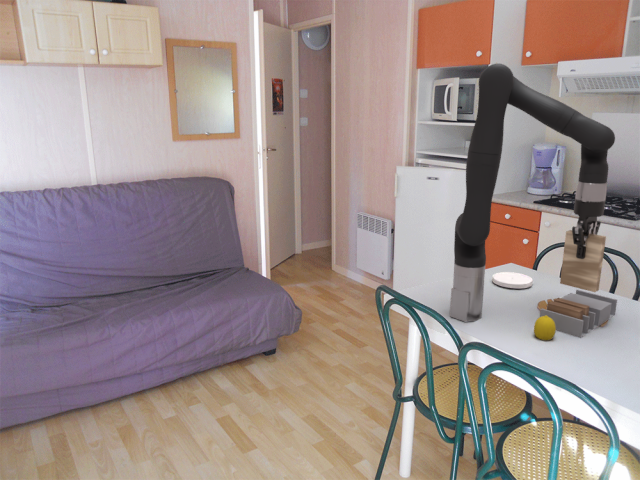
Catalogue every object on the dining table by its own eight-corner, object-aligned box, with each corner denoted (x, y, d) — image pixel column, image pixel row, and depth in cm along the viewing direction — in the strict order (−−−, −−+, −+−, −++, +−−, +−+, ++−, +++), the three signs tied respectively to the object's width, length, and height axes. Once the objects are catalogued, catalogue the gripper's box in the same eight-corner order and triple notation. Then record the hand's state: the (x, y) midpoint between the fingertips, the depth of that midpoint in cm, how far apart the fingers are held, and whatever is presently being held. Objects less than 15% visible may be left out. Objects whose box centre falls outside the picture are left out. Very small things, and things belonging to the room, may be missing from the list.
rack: (580, 342, 143) (582, 321, 141) (538, 329, 152) (540, 308, 150) (614, 319, 158) (617, 299, 156) (574, 308, 167) (577, 289, 165)
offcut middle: (582, 331, 147) (585, 308, 145) (551, 321, 153) (554, 299, 152) (586, 328, 148) (589, 306, 147) (555, 319, 155) (558, 297, 153)
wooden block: (594, 292, 146) (602, 237, 142) (559, 283, 153) (566, 231, 149) (598, 290, 148) (606, 236, 144) (563, 281, 155) (570, 230, 151)
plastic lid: (485, 279, 196) (485, 273, 195) (518, 277, 198) (519, 271, 198) (504, 292, 183) (504, 285, 182) (540, 289, 185) (540, 282, 184)
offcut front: (576, 335, 144) (579, 311, 143) (545, 325, 151) (547, 303, 149) (580, 332, 146) (583, 309, 144) (549, 322, 153) (551, 300, 151)
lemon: (536, 336, 148) (538, 310, 146) (556, 341, 144) (559, 314, 142) (529, 342, 143) (532, 316, 141) (550, 348, 140) (553, 321, 138)
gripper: (587, 193, 151) (580, 250, 155) (565, 199, 142) (558, 259, 147) (614, 196, 145) (606, 255, 150) (593, 203, 137) (585, 265, 141)
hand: (582, 257), depth 148 cm, fingers closed on wooden block, 2 cm apart
